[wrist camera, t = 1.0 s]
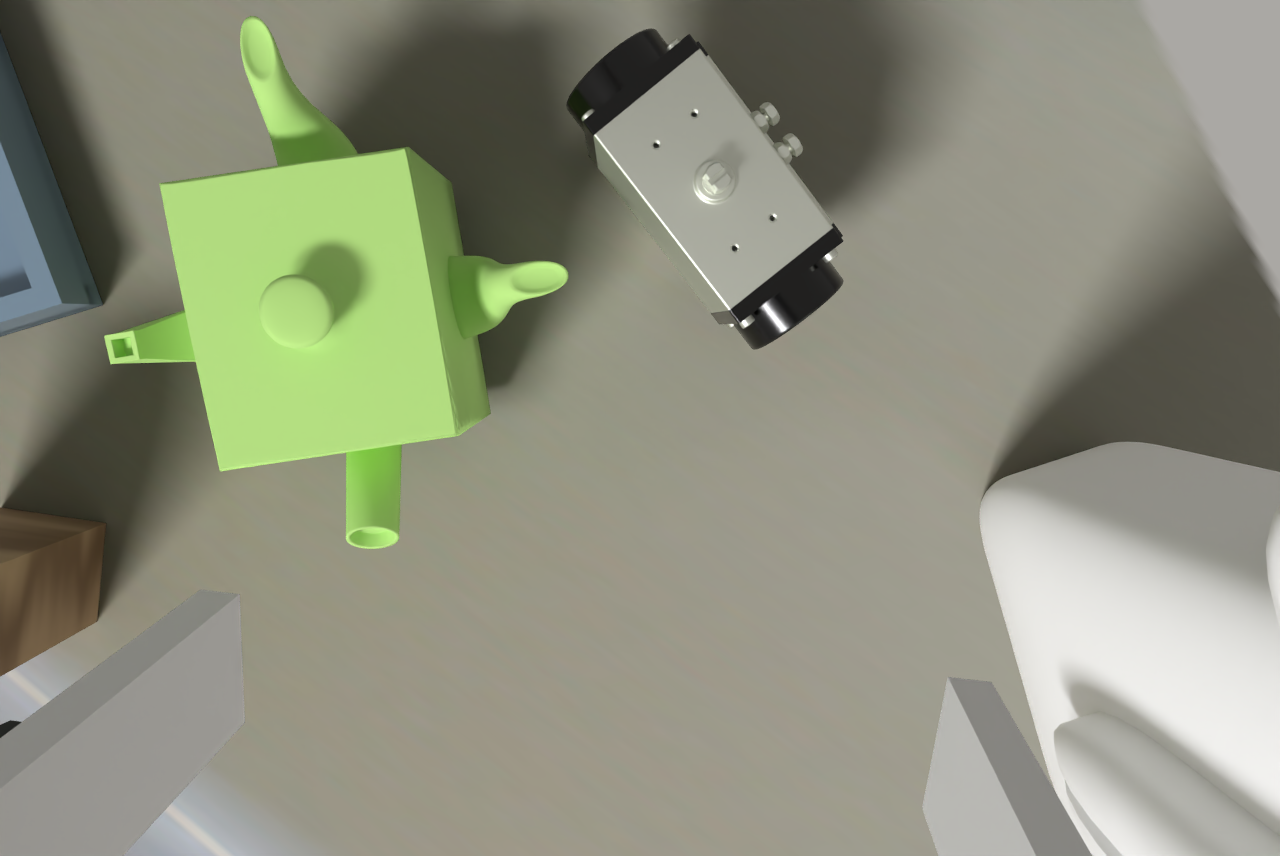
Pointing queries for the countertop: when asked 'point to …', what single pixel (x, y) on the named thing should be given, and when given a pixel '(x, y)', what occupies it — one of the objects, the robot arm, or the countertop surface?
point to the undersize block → (46, 581)
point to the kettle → (329, 302)
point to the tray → (34, 224)
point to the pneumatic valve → (709, 183)
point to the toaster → (1148, 642)
